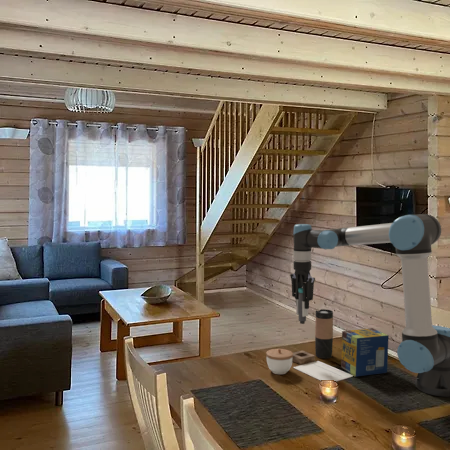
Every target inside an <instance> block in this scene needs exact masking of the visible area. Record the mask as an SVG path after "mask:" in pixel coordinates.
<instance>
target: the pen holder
mask: <svg viewBox="0 0 450 450" xmlns="http://www.w3.org/2000/svg"><path fill="white" fill-rule="evenodd" d="M292 353H293V361H292V363H293V362H294V363H295V364H298V365H299V366H300V365H304V364H308V363H312V362H316V354H313V353H310V352H307V351H305V350H299V351H293V352H292Z"/></svg>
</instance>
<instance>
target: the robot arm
mask: <svg viewBox="0 0 450 450" xmlns="http://www.w3.org/2000/svg"><path fill="white" fill-rule="evenodd" d="M292 235H293V237H292V238H293V251H292V252H293V253H292V254H293V257H292V258H293V270H294V273H290V274H289V276H290V280H291V296H292V297H293V298H294V299H295V306H296V311H295V312H296V315H298V316H299V292H298V288H303V298H304V300H302V316H303V317H304V316H306V317H308V316H309V308H310V302H311V301H314V300H313V299H314V287H315V286H314V285H315V281H316V277H312V276H311V270H312V261H311V260H312V249H313V248H314V249H320V250H334V249H335V247H346V246H347V247H348V246H358V245H359V246H360V245H373V244H374V245H375V244H386V243H387V244H388V243H390V244H392V246H393V247H394V248H395V255H396V256H397V257H398V258H400V261H401V275H402V277H401V278H402V289H403V303H404V304H403V305H404V316H405V317H404V318H405V326H404V328H403V329H402V330H401V338H402V339H401V340H402V341H401V342H400V343H399V345H398V346H397V351H396V353H397V354H396V355H397V359H399V362H400V364H401V365H402V366H403V367H404V369H406V370H408V371H410V372H411V373H415V374H416V378H415V387H416V388H417V390H419V391H420V392H422V393H425V394H426V395H430V396H431V395H432V396H437V397H446V398H447V397H450V327H447V326H441V325H435V324H434V325H433V320H432V317H433V316H432V307H431V305H432V304H431V291H430V276H429V275H430V274H429V262H428V258H429V257H430V256H431V254H432V253H433V250H432V245H434V244H435V243H436V242H438V240H439V239H440V238H441V235H442V225H441V223H440V221H439V220H438V219H437V218H436V217H435V216H433V215H431V214H427V213H420V214H405V215H402V216H399V217H398V218H396V219H394V220H393V222H389V223H388V222H387V223H380V224H379V223H378V224H370V225H360V226H351V227H342V228H341V227H340V228H333V229H313V228H312V224H309V223H308V224H307V223H298V224H297V223H296V224H294V226H293V234H292Z"/></svg>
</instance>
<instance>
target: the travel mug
mask: <svg viewBox="0 0 450 450" xmlns="http://www.w3.org/2000/svg"><path fill="white" fill-rule="evenodd" d="M314 324H315V327H314V328H315V329H314V332H315V333H314V338H315V339H314V340H315V341H314V342H315V343H314V344H315V350H314V351H315V357H317V358H319V359H330V358H332V357H333V344H334V343H333V341H334V332H333V331H334V311H333V310H331V309H325V308H322V309H320V310H315V323H314Z"/></svg>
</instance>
